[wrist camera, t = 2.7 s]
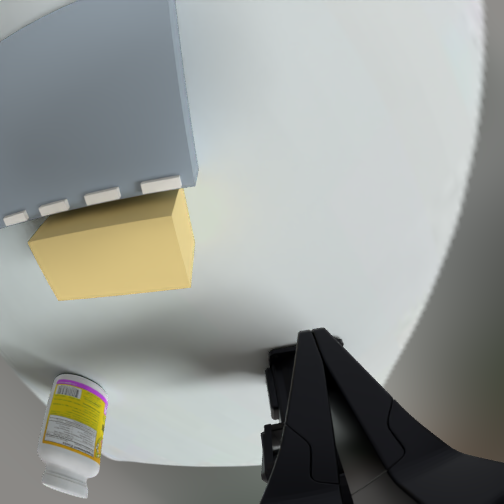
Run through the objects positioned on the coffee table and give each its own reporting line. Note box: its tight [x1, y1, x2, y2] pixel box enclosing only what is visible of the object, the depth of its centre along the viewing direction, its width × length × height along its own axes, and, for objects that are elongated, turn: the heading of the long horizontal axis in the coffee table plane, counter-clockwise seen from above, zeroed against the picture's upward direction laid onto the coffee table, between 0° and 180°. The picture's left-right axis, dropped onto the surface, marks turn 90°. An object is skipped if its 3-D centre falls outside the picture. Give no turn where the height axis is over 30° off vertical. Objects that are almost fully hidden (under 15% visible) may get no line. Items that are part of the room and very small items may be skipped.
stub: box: [28, 188, 195, 301], centre depth 15 cm, size 8×4×4 cm, turn 95°
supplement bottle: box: [37, 374, 108, 498], centre depth 22 cm, size 7×7×13 cm
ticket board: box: [0, 0, 198, 229], centre depth 11 cm, size 18×10×3 cm, turn 95°
